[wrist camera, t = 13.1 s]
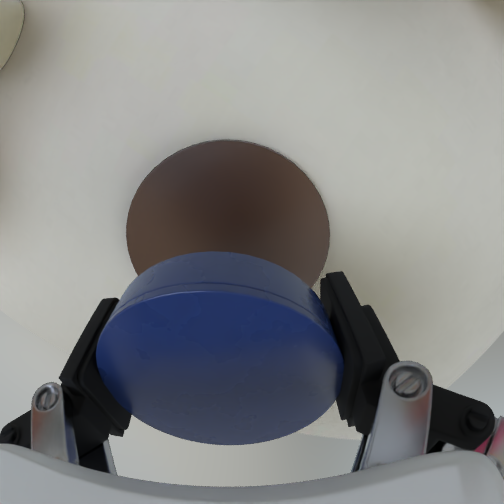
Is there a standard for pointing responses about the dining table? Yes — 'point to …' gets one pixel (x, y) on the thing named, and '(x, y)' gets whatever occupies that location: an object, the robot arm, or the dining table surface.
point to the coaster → (229, 209)
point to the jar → (9, 27)
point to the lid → (221, 350)
